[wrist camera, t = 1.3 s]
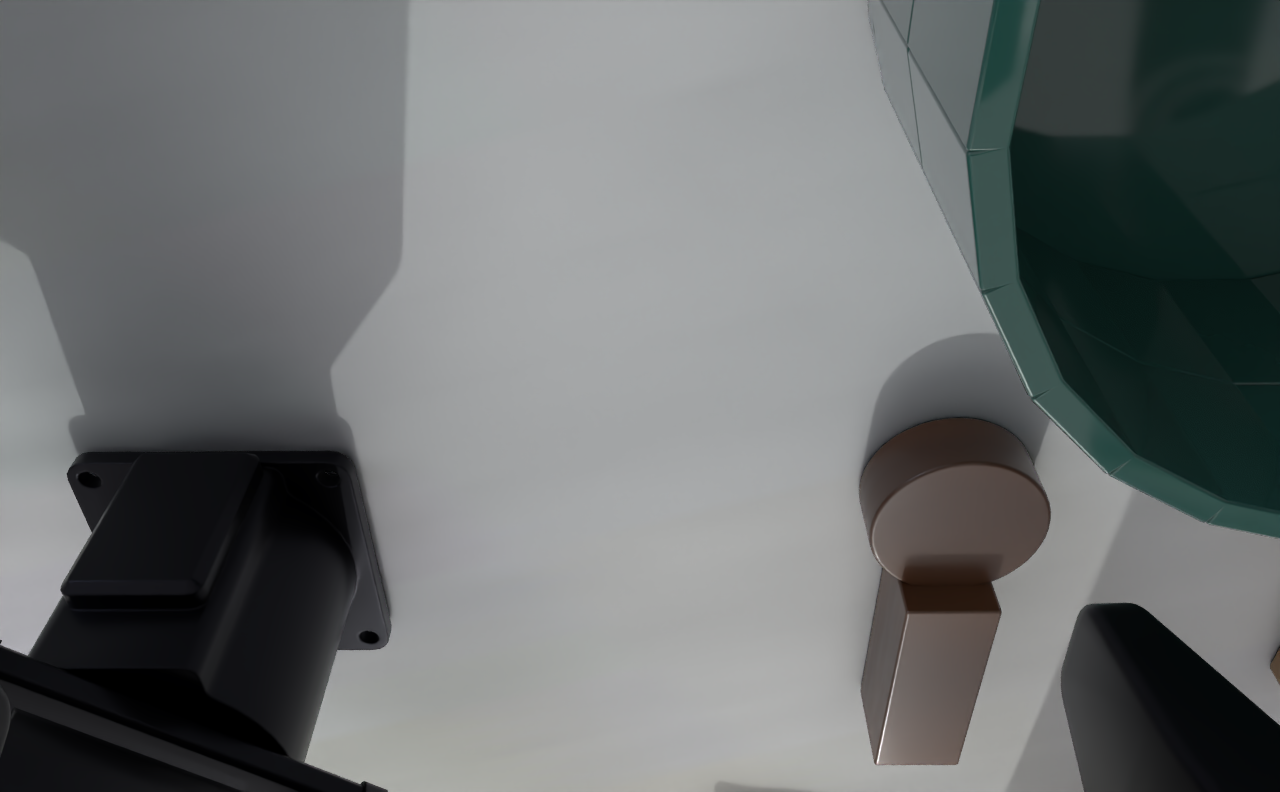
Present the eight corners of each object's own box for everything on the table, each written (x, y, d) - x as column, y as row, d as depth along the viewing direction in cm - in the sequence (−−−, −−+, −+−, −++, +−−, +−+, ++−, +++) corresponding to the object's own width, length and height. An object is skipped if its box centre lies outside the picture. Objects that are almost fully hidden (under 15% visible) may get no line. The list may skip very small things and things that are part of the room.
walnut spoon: (970, 690, 30) (992, 766, 28) (827, 690, 30) (839, 766, 28) (1048, 415, 24) (1083, 487, 22) (869, 416, 24) (888, 489, 22)
